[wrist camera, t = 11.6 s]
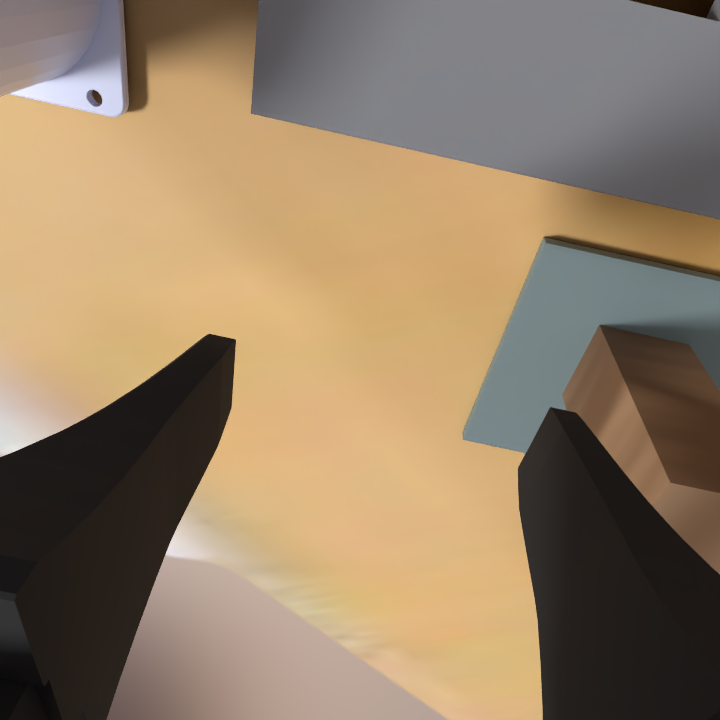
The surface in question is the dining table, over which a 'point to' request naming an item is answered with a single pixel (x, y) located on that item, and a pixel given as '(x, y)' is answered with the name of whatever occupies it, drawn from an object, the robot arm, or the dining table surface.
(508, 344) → the mat
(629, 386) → the tall wooden block
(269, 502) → the dining table surface
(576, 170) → the grey flat block
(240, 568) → the dining table surface
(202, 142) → the dining table surface
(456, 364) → the dining table surface
